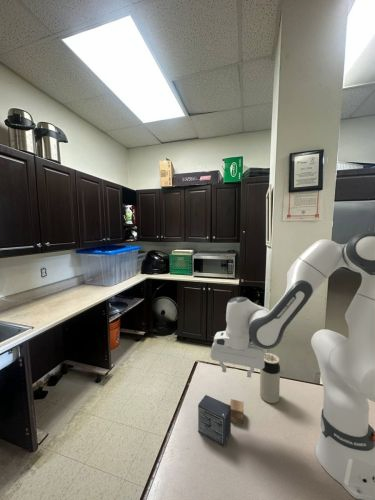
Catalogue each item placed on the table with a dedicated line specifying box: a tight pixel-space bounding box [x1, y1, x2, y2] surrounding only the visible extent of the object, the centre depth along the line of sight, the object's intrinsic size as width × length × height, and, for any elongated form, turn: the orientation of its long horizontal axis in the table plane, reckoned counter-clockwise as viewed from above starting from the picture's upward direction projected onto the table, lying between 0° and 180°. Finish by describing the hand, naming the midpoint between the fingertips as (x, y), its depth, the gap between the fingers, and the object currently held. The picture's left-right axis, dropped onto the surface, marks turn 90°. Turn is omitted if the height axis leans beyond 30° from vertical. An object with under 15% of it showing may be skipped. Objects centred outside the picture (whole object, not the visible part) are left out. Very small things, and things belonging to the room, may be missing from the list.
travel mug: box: [259, 352, 281, 404], centre depth 92 cm, size 8×8×18 cm
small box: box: [197, 394, 232, 447], centre depth 75 cm, size 11×6×10 cm, turn 58°
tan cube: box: [229, 398, 245, 425], centre depth 82 cm, size 5×5×5 cm
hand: (236, 373), depth 81 cm, fingers open, 8 cm apart
